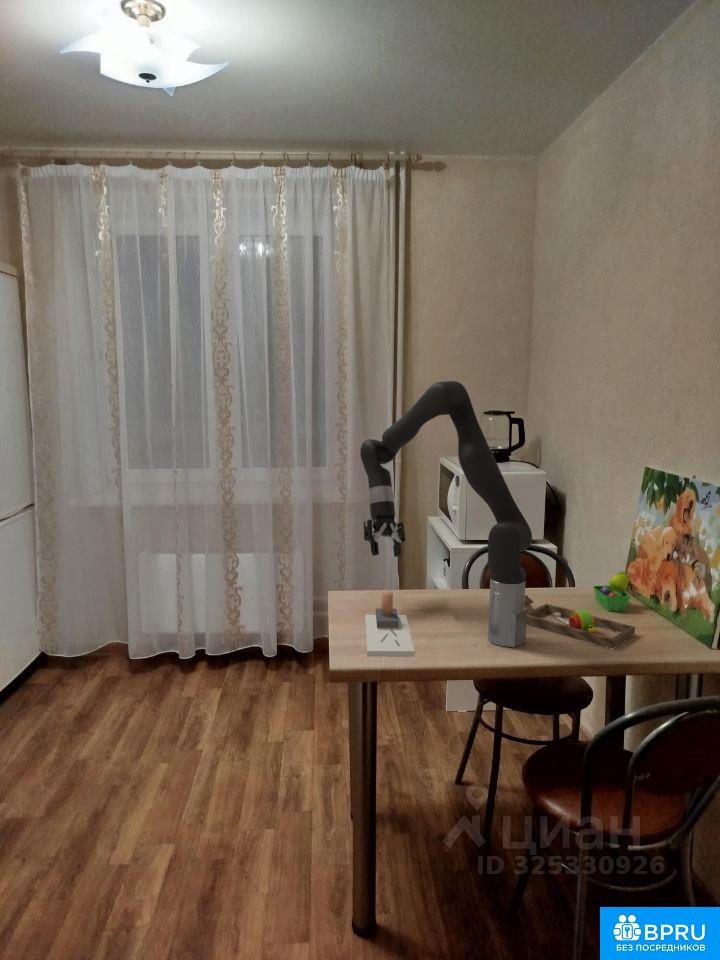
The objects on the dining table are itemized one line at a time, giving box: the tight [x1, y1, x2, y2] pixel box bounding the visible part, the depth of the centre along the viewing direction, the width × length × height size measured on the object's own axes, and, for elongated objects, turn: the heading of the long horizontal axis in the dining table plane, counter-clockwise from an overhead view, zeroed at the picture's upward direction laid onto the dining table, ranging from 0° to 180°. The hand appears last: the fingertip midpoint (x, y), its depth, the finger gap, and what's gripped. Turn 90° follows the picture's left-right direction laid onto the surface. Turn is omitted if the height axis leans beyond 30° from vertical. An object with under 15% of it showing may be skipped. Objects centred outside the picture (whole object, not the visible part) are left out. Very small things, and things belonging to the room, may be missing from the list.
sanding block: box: [375, 591, 399, 629], centre depth 185 cm, size 10×6×8 cm, turn 1°
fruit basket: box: [592, 571, 632, 612], centre depth 204 cm, size 11×9×11 cm
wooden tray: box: [526, 603, 636, 650], centre depth 186 cm, size 27×14×2 cm, turn 46°
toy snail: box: [552, 609, 598, 635], centre depth 186 cm, size 6×19×7 cm, turn 15°
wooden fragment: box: [524, 594, 535, 612], centre depth 209 cm, size 26×11×1 cm, turn 172°
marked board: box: [365, 614, 415, 658], centre depth 179 cm, size 26×12×2 cm, turn 1°
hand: (386, 555), depth 193 cm, fingers open, 8 cm apart
